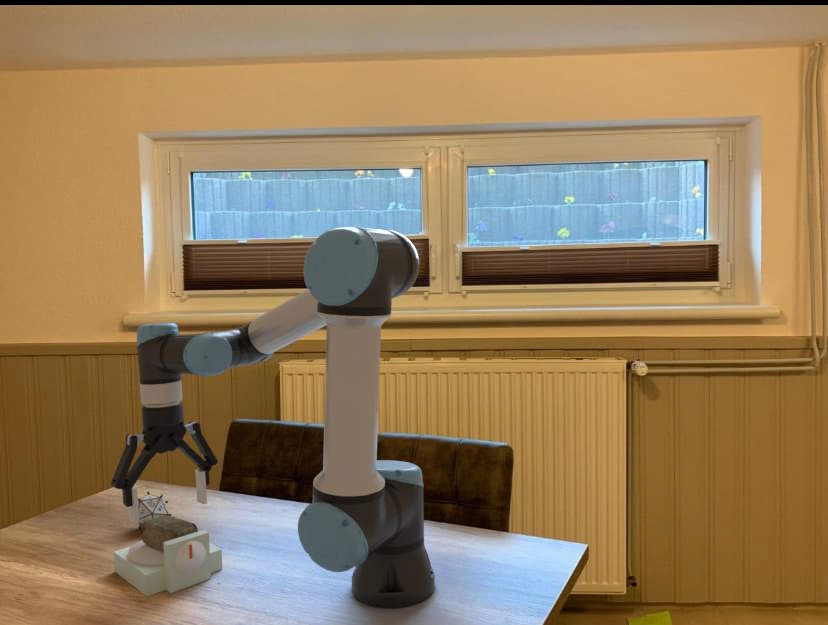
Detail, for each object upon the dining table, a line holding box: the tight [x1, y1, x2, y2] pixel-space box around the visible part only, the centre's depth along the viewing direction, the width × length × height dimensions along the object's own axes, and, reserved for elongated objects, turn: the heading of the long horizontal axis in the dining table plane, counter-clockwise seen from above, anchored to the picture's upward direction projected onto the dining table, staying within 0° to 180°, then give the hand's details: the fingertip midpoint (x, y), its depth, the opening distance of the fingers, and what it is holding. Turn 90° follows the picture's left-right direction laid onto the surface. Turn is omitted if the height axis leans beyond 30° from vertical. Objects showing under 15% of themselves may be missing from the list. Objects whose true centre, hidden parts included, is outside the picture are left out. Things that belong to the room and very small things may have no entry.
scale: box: [113, 529, 223, 597], centre depth 132 cm, size 18×15×9 cm
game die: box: [138, 490, 173, 529], centre depth 155 cm, size 9×8×10 cm
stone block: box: [141, 515, 199, 551], centre depth 132 cm, size 6×12×5 cm, turn 55°
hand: (169, 512), depth 131 cm, fingers open, 13 cm apart
